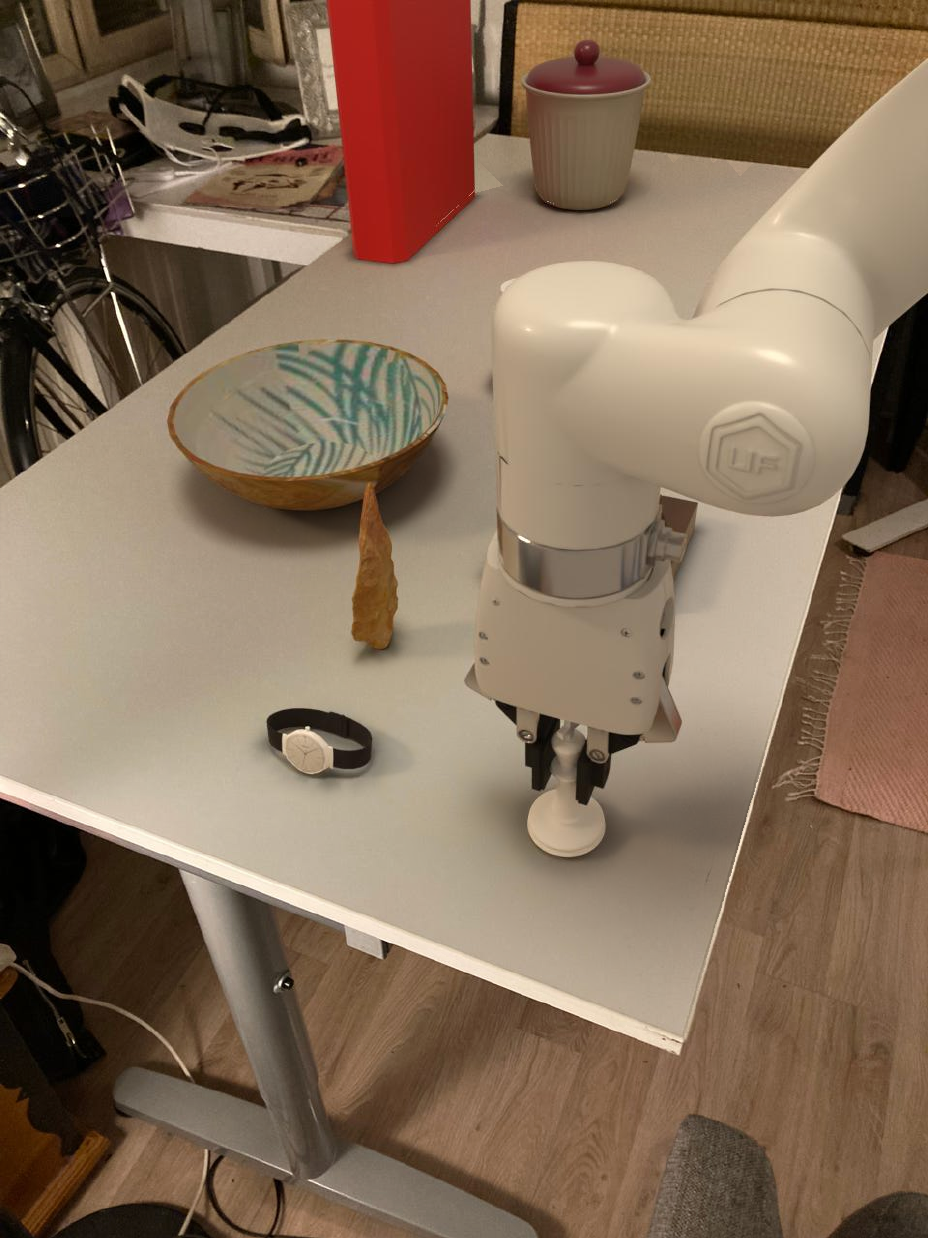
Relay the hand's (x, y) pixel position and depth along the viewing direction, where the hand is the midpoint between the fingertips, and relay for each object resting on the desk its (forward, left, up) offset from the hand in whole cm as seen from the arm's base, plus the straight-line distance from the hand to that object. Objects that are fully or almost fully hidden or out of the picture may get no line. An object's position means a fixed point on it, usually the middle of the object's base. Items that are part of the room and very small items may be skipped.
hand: (567, 778), depth 59 cm
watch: (+18, 0, -5) cm, 18 cm away
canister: (+35, -110, -5) cm, 115 cm away
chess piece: (0, 0, -5) cm, 5 cm away
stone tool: (+19, -11, -5) cm, 22 cm away
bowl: (+35, -30, -5) cm, 46 cm away
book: (+54, -92, -5) cm, 107 cm away
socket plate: (+7, -28, -5) cm, 29 cm away
